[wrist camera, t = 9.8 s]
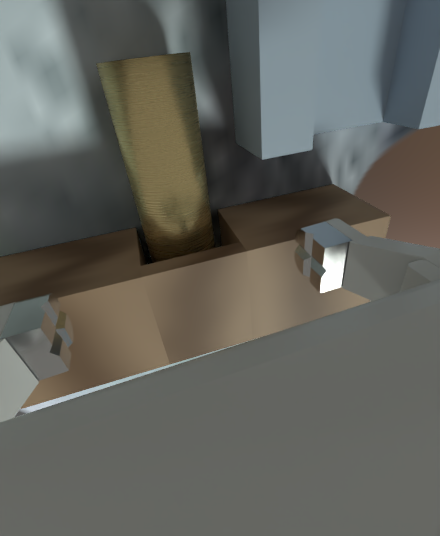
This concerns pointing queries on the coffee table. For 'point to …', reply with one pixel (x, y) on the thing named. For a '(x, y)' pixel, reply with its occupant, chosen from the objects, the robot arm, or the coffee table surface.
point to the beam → (183, 288)
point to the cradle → (330, 68)
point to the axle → (161, 150)
